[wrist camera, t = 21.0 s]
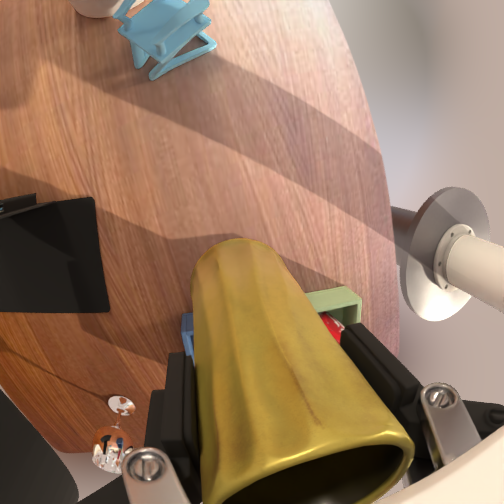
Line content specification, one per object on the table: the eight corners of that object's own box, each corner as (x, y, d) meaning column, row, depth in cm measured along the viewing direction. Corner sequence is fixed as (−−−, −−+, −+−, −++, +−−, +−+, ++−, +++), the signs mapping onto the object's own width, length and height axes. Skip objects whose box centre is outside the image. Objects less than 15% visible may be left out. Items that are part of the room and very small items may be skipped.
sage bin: (345, 285, 38) (362, 298, 34) (341, 349, 41) (355, 366, 37) (269, 299, 37) (278, 315, 33) (273, 365, 40) (282, 385, 36)
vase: (290, 318, 20) (398, 500, 6) (199, 334, 19) (215, 549, 5) (283, 230, 18) (463, 374, 4) (181, 245, 17) (138, 463, 4)
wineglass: (125, 422, 39) (116, 478, 27) (97, 402, 37) (81, 458, 26) (146, 407, 38) (139, 468, 27) (117, 386, 37) (101, 446, 25)
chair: (121, 58, 26) (91, 12, 15) (172, 13, 25) (165, -44, 14) (165, 93, 28) (150, 53, 17) (217, 46, 28) (228, -8, 16)
